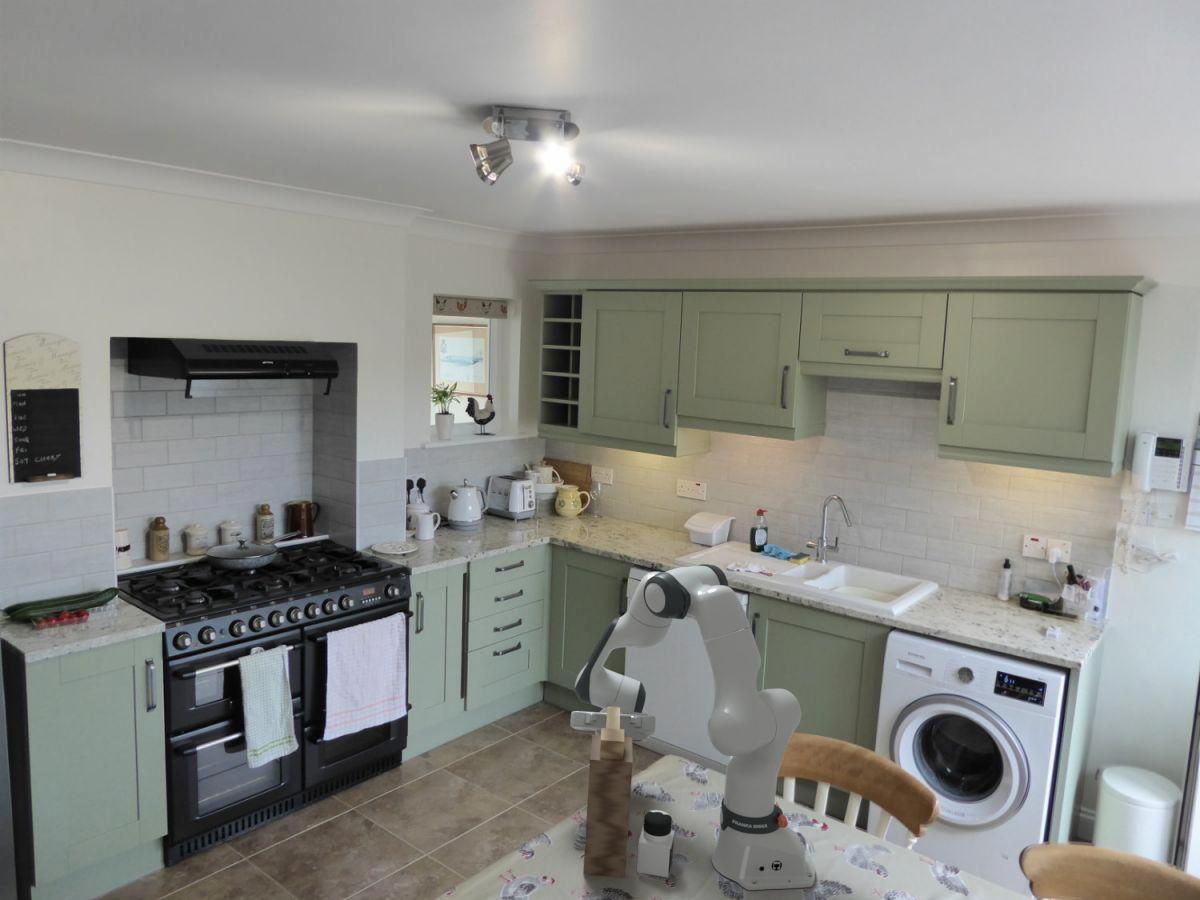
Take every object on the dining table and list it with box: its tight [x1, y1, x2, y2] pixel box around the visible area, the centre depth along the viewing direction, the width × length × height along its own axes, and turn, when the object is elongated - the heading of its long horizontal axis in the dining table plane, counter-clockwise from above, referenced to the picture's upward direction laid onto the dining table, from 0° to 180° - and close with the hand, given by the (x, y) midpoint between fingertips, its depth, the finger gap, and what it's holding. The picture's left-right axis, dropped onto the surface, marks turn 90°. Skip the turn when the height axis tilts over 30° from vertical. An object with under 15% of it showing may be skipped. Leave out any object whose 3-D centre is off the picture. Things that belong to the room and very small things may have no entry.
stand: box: [582, 734, 634, 878], centre depth 191 cm, size 9×12×26 cm
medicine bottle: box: [636, 809, 675, 879], centre depth 191 cm, size 7×7×12 cm
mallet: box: [600, 707, 624, 760], centre depth 194 cm, size 5×20×4 cm, turn 178°
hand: (613, 718), depth 201 cm, fingers open, 8 cm apart
